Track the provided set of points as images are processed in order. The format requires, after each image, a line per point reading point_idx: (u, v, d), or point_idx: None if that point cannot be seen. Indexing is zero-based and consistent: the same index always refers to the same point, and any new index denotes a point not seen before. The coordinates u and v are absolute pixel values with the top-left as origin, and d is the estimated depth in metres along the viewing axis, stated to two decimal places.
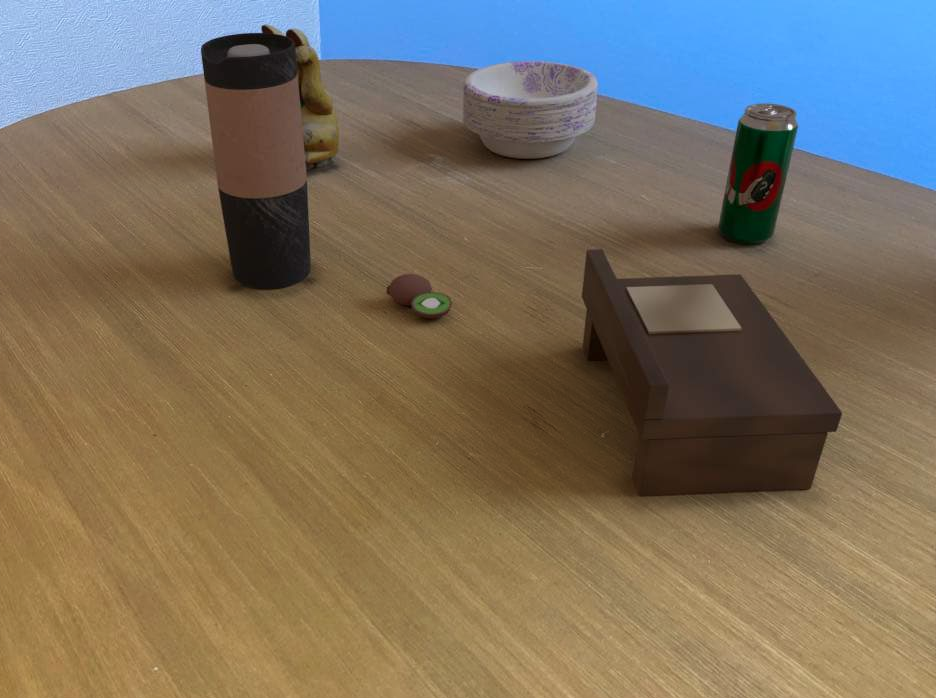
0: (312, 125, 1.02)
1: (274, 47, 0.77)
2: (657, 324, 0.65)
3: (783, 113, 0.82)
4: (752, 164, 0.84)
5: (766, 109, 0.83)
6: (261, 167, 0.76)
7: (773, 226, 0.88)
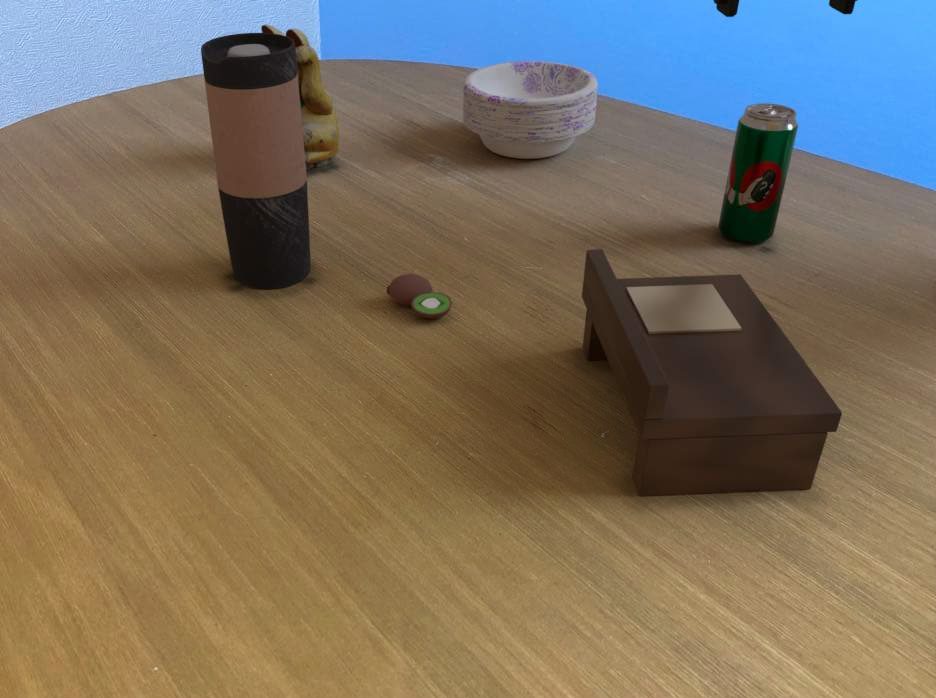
0: (312, 125, 1.02)
1: (275, 47, 0.77)
2: (657, 324, 0.65)
3: (783, 113, 0.82)
4: (752, 163, 0.84)
5: (766, 109, 0.83)
6: (261, 167, 0.76)
7: (773, 226, 0.88)
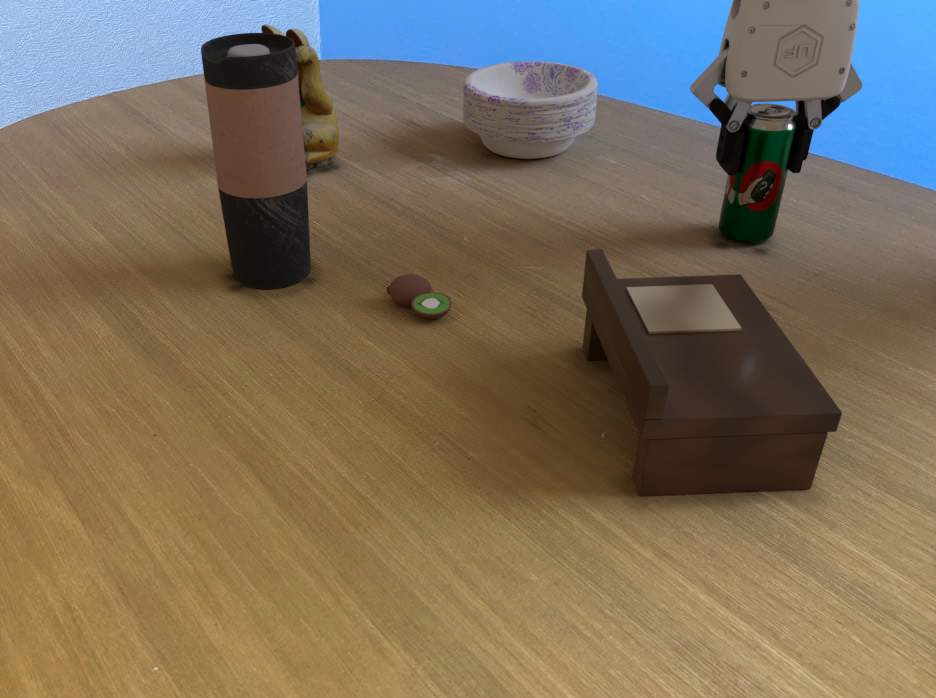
0: (312, 125, 1.02)
1: (275, 47, 0.77)
2: (657, 324, 0.65)
3: (783, 113, 0.82)
4: (752, 163, 0.84)
5: (766, 109, 0.83)
6: (261, 167, 0.76)
7: (773, 226, 0.88)
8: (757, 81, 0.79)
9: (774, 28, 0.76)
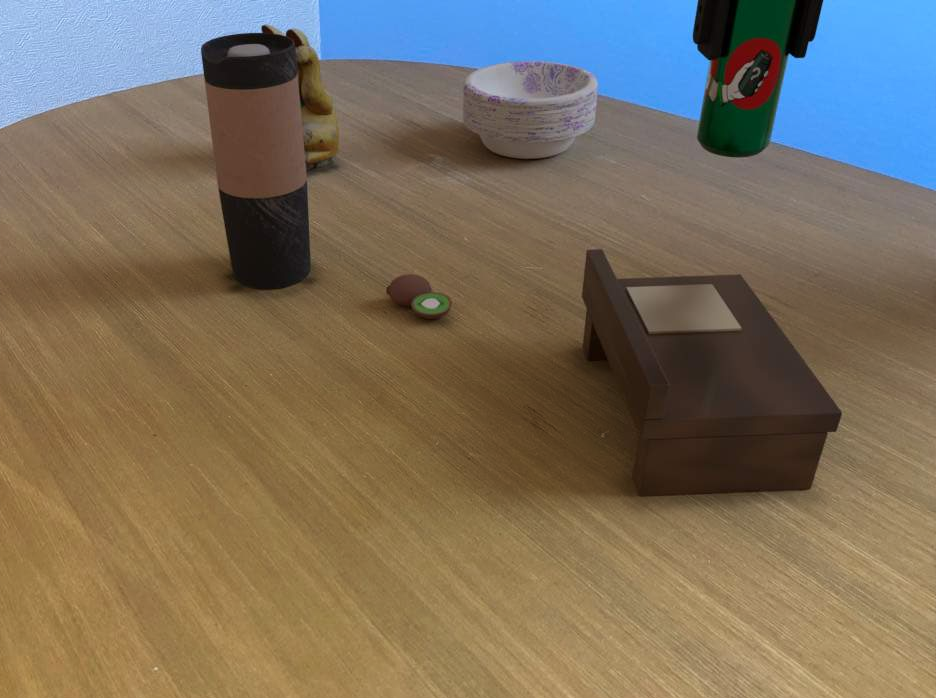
0: (312, 125, 1.02)
1: (274, 47, 0.77)
2: (657, 324, 0.65)
3: None
4: (740, 42, 0.62)
5: None
6: (261, 167, 0.76)
7: (769, 133, 0.66)
8: None
9: None
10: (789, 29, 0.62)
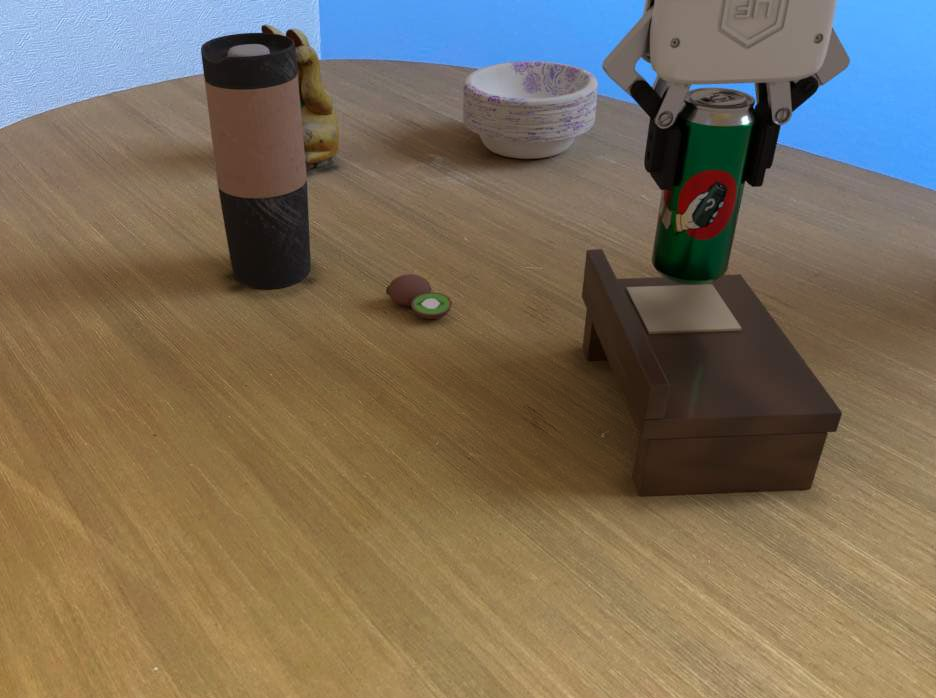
0: (312, 125, 1.02)
1: (275, 47, 0.77)
2: (657, 324, 0.65)
3: (736, 101, 0.57)
4: (693, 173, 0.59)
5: (712, 95, 0.58)
6: (261, 167, 0.76)
7: (726, 260, 0.63)
8: (695, 54, 0.54)
9: None
10: (744, 160, 0.58)
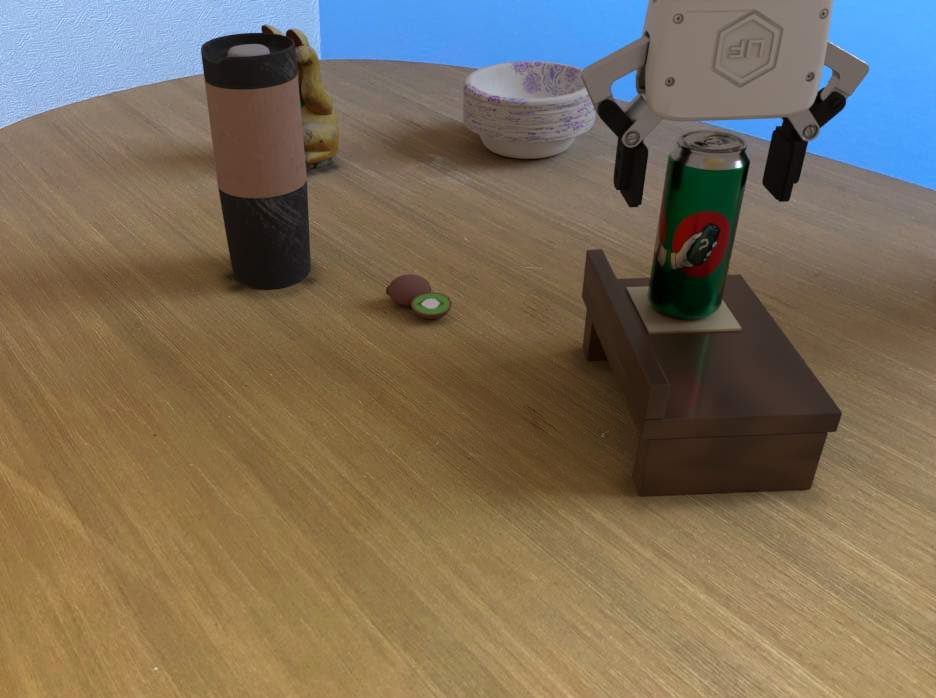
0: (312, 125, 1.02)
1: (275, 47, 0.77)
2: (657, 324, 0.65)
3: (729, 145, 0.59)
4: (687, 214, 0.60)
5: (706, 139, 0.60)
6: (261, 167, 0.76)
7: (720, 296, 0.64)
8: (689, 92, 0.55)
9: (711, 15, 0.53)
10: (737, 201, 0.60)
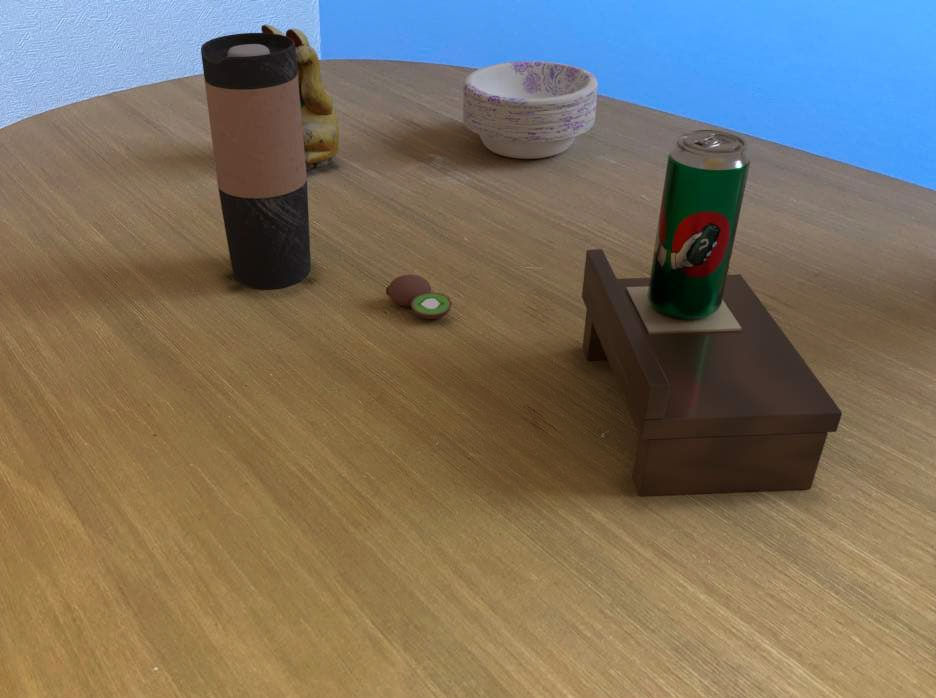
0: (312, 125, 1.02)
1: (275, 47, 0.77)
2: (657, 324, 0.65)
3: (729, 145, 0.59)
4: (687, 214, 0.60)
5: (706, 139, 0.60)
6: (261, 167, 0.76)
7: (720, 296, 0.64)
8: None
9: None
10: (737, 201, 0.60)
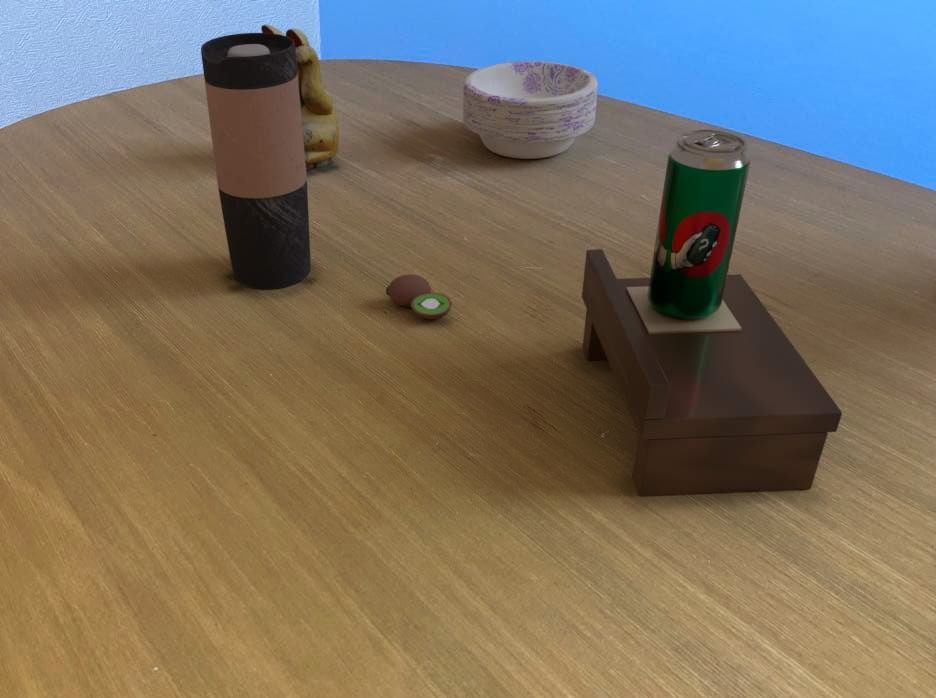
0: (312, 125, 1.02)
1: (274, 47, 0.77)
2: (657, 324, 0.65)
3: (729, 145, 0.59)
4: (687, 214, 0.60)
5: (706, 139, 0.60)
6: (261, 167, 0.76)
7: (720, 296, 0.64)
8: None
9: None
10: (737, 201, 0.60)
